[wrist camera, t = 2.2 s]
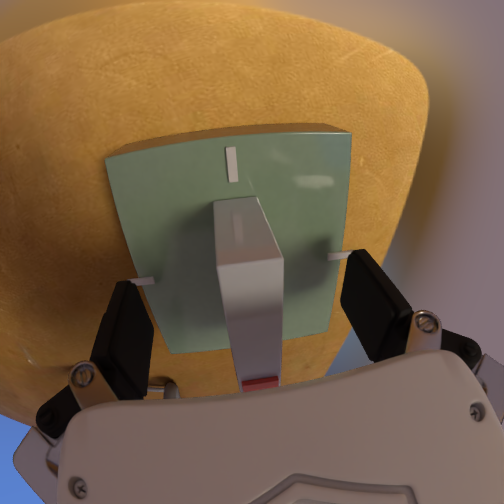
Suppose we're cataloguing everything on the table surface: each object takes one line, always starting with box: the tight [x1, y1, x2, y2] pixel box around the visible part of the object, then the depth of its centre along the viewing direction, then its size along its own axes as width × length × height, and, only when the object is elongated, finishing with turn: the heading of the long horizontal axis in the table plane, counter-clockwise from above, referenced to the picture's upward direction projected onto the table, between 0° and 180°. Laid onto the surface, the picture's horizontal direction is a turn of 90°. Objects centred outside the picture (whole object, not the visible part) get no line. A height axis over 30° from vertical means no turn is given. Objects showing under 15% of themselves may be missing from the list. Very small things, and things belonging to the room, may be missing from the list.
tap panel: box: [105, 123, 353, 354], centre depth 14 cm, size 12×11×3 cm
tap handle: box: [213, 197, 284, 393], centre depth 11 cm, size 7×2×5 cm, turn 3°
